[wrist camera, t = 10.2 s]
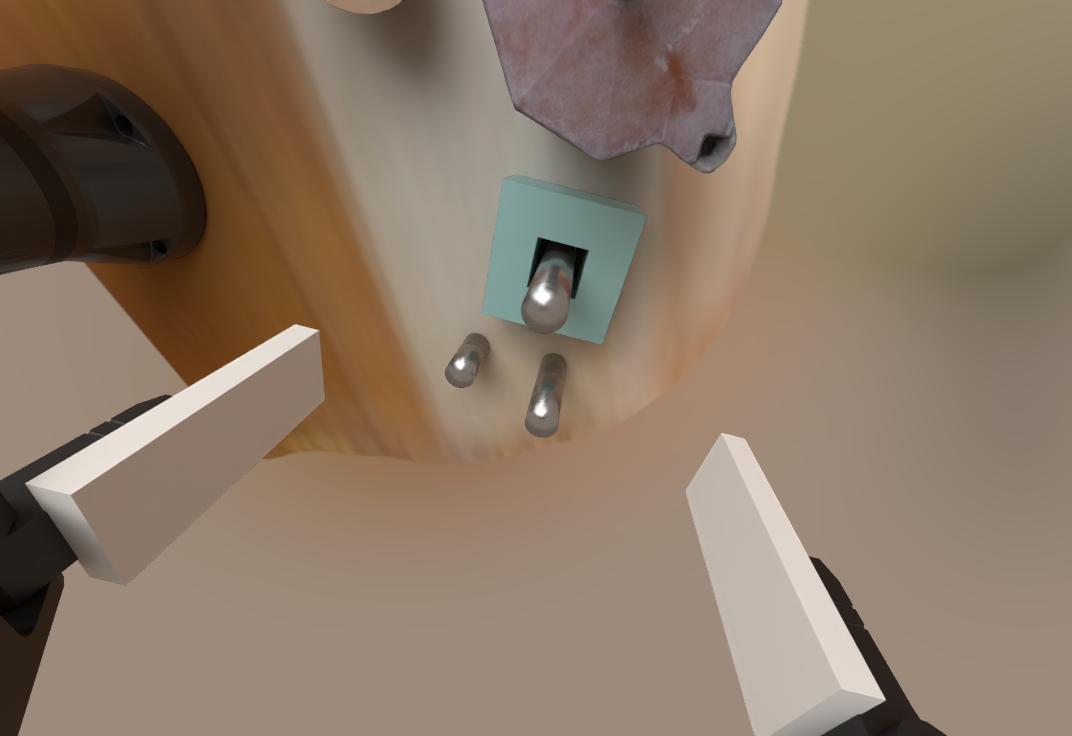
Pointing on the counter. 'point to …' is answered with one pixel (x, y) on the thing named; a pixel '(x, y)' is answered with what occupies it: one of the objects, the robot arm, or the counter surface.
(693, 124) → the moka pot
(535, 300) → the pin long
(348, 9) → the egg
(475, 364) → the pin short
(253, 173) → the counter surface
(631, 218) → the teal square nut
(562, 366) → the pin medium
